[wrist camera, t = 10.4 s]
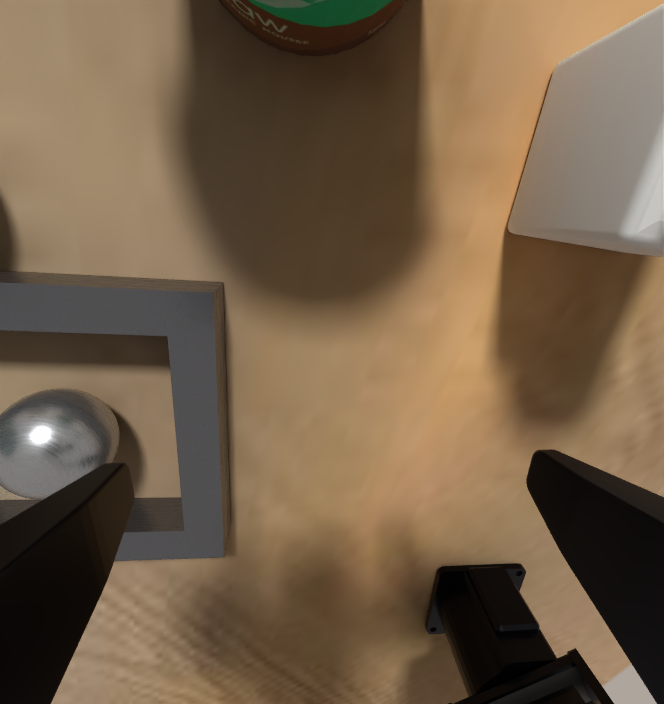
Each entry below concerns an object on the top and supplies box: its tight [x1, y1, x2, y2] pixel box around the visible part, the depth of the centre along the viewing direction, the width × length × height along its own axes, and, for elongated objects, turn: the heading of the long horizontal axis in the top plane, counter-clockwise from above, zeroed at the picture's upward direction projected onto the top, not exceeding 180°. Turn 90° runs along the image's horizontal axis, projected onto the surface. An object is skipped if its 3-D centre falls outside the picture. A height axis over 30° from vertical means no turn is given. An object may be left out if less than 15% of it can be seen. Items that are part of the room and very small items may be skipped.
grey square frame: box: [0, 271, 231, 561], centre depth 18 cm, size 15×15×2 cm
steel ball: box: [0, 388, 120, 500], centre depth 17 cm, size 5×5×5 cm
